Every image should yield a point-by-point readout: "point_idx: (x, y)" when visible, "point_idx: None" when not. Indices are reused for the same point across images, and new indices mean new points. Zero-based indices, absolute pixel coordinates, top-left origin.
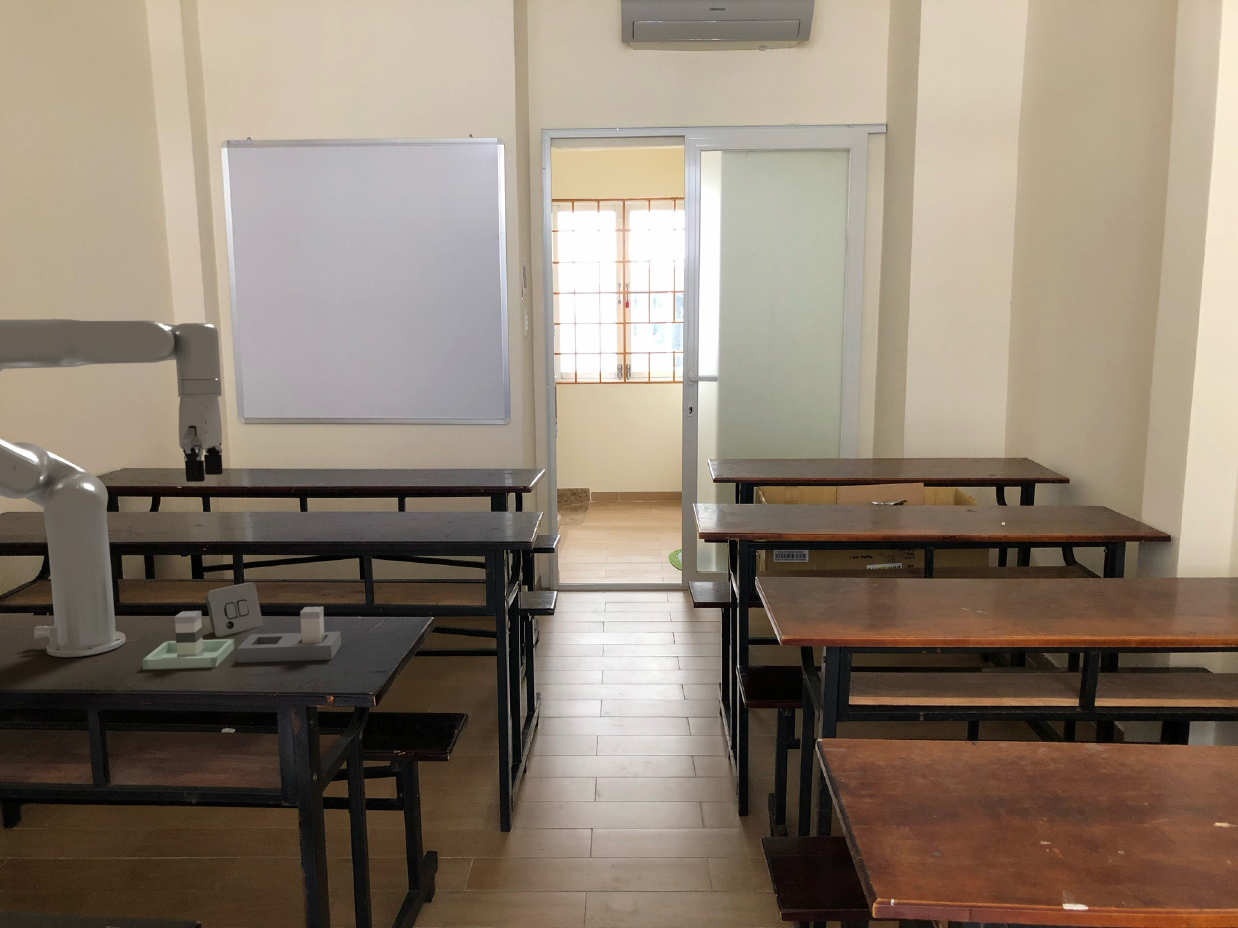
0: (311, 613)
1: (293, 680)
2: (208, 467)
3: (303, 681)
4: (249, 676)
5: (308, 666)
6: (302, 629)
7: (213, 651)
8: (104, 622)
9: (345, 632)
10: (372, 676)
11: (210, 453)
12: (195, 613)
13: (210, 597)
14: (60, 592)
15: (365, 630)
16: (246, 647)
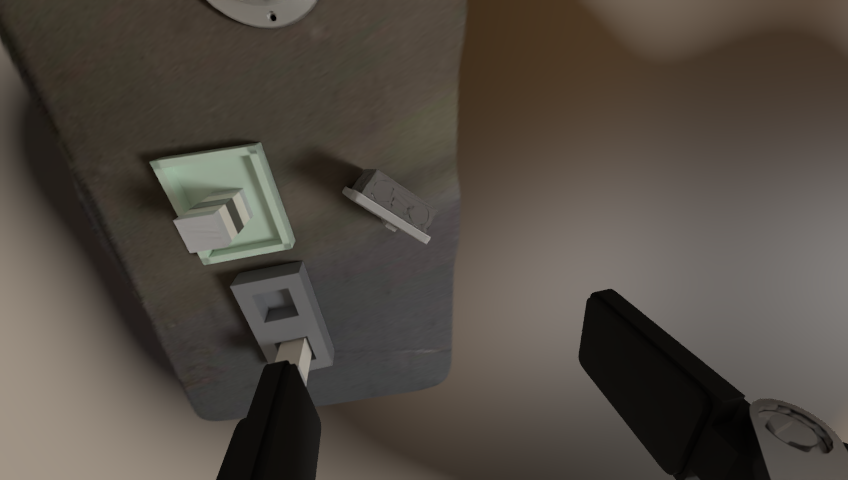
0: None
1: (208, 353)
2: (616, 341)
3: (209, 363)
4: (203, 305)
5: (259, 347)
6: (276, 359)
7: (269, 222)
8: None
9: (391, 331)
10: (247, 409)
11: (715, 450)
12: (209, 245)
13: (349, 196)
14: None
15: (400, 347)
16: (238, 295)
